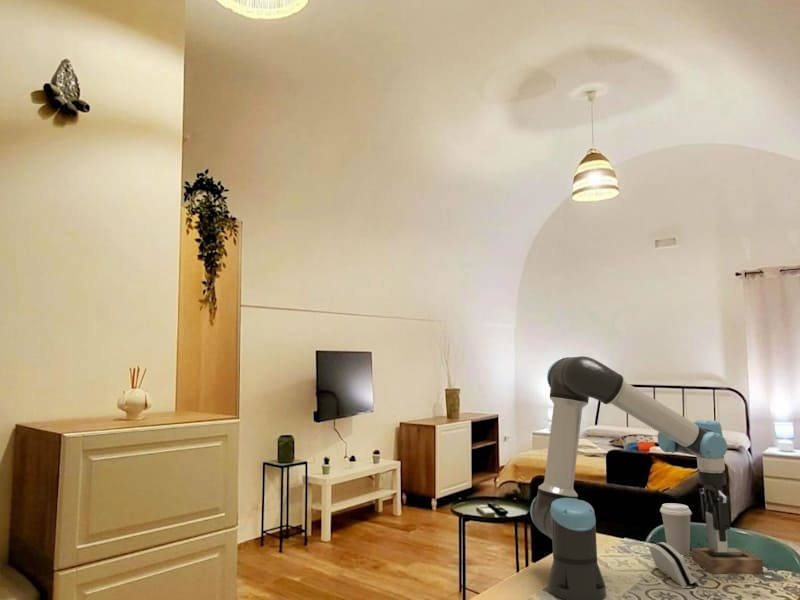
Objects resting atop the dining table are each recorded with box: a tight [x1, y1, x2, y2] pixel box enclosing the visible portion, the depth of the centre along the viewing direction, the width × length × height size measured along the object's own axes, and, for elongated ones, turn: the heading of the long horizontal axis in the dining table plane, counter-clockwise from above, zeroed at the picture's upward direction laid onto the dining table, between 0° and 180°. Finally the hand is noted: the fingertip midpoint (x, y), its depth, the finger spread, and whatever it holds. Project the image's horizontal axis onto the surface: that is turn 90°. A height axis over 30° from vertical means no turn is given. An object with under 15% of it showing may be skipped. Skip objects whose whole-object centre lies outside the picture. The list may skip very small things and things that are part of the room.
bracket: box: [705, 511, 742, 557], centre depth 174 cm, size 8×4×14 cm, turn 88°
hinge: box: [648, 541, 701, 587], centre depth 165 cm, size 17×5×10 cm, turn 0°
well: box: [690, 547, 764, 575], centre depth 173 cm, size 15×12×4 cm
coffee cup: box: [659, 502, 693, 556], centre depth 187 cm, size 10×10×15 cm
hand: (718, 549), depth 173 cm, fingers closed on bracket, 4 cm apart
